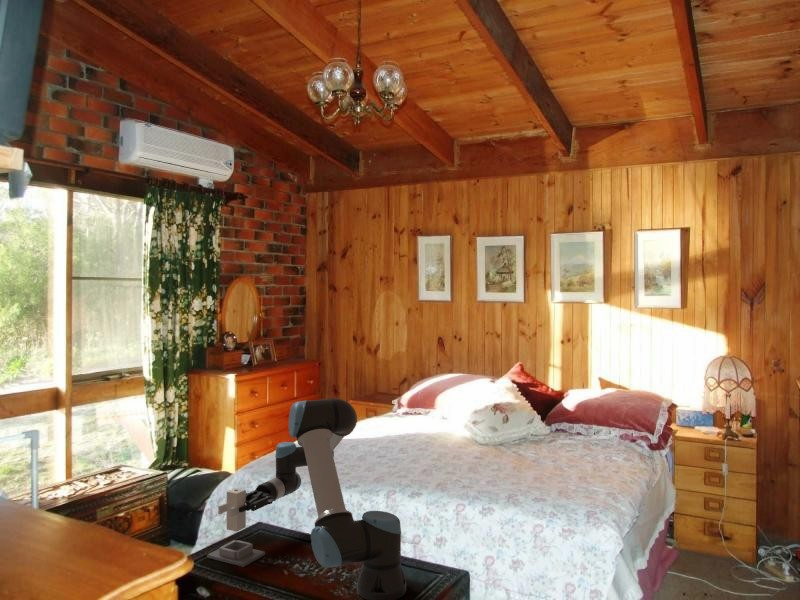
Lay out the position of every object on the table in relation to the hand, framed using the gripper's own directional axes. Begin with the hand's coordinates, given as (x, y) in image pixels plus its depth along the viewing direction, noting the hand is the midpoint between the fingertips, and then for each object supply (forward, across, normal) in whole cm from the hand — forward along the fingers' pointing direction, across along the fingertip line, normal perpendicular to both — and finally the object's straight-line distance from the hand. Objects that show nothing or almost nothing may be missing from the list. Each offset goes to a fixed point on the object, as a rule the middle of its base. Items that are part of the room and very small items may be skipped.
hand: (225, 511), depth 213 cm
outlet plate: (-5, 0, -17) cm, 18 cm away
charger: (-5, 0, -8) cm, 9 cm away
